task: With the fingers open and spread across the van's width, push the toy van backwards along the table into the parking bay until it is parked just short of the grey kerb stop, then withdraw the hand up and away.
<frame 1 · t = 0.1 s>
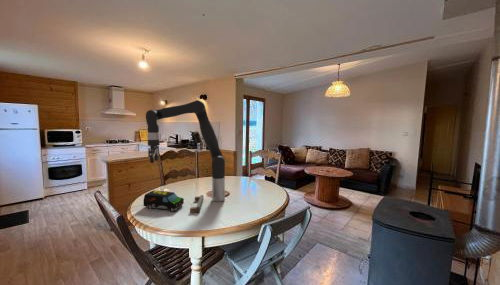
hand: (154, 161, 145), 29 cm above the table, fingers open, 8 cm apart
toy van: (164, 207, 138), on the table
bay: (197, 206, 141), on the table
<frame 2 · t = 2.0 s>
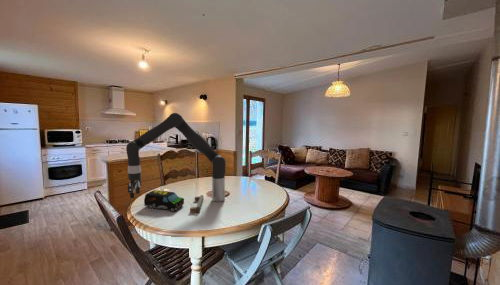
hand: (135, 195, 135), 8 cm above the table, fingers open, 8 cm apart
nothing on the table moved.
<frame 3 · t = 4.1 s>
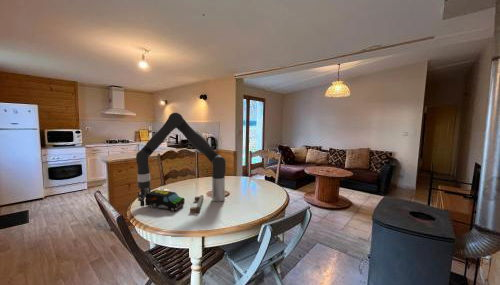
hand: (145, 203, 137), 3 cm above the table, fingers open, 8 cm apart
toy van: (165, 207, 139), on the table, touching gripper
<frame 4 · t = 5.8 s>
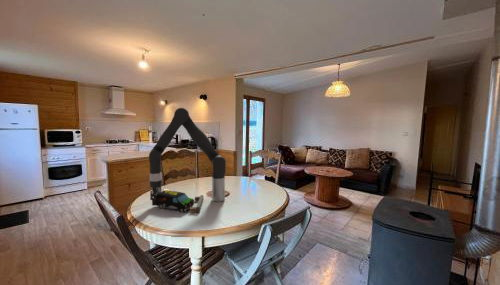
hand: (156, 202, 137), 3 cm above the table, fingers open, 8 cm apart
toy van: (174, 207, 138), on the table
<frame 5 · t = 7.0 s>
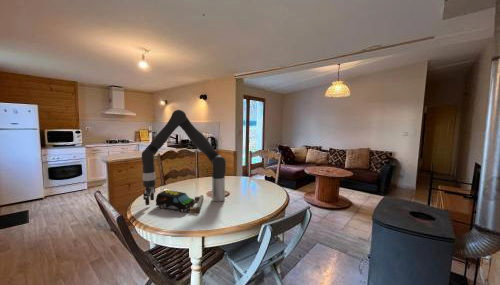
hand: (149, 202, 137), 4 cm above the table, fingers open, 8 cm apart
nothing on the table moved.
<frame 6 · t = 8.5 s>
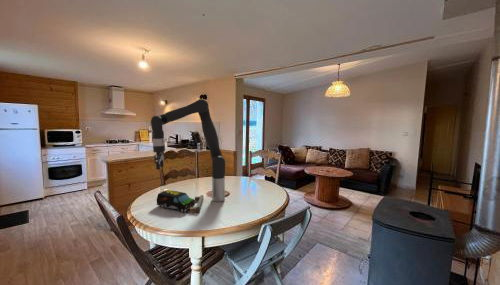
hand: (160, 168, 142), 25 cm above the table, fingers open, 8 cm apart
nothing on the table moved.
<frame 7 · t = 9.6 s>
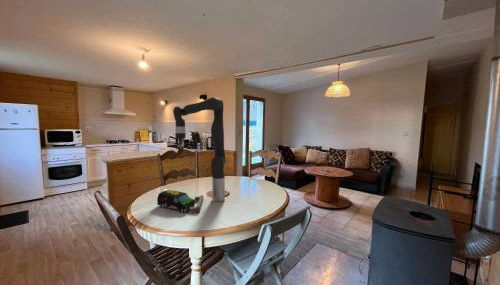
hand: (180, 152, 161), 33 cm above the table, fingers open, 8 cm apart
nothing on the table moved.
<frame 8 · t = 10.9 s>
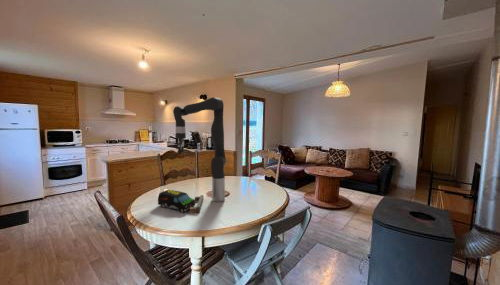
hand: (180, 152, 161), 33 cm above the table, fingers open, 8 cm apart
at the end: toy van inside the target area on the table beside the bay (0.8 cm from its centre), on the table; toy van moved 8.4 cm from its start; toy van tilted 0° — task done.
